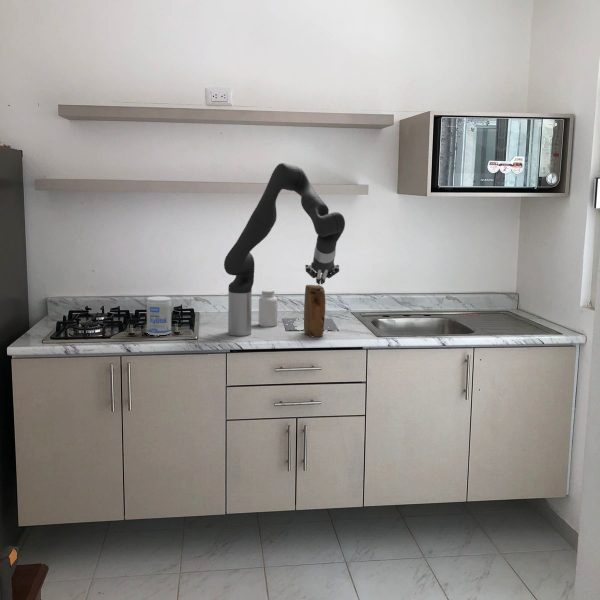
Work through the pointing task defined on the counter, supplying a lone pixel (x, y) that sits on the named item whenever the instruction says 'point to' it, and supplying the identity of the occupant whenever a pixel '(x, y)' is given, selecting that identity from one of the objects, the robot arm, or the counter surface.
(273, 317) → the pill bottle
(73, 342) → the counter surface
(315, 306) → the brown rounded chunk
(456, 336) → the counter surface
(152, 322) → the supplement tub
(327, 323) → the mat
